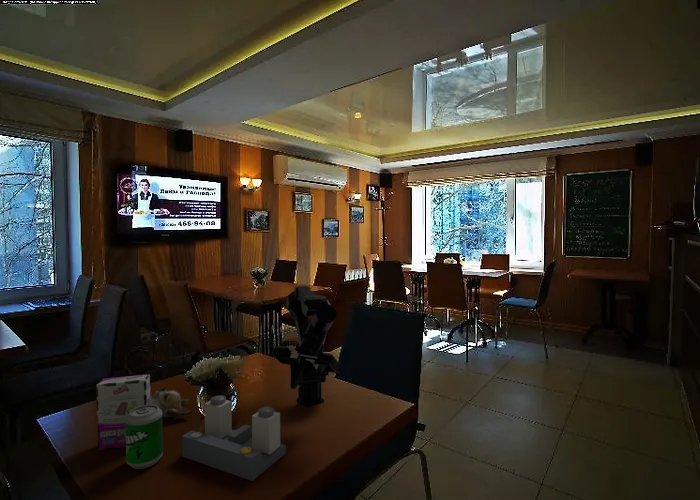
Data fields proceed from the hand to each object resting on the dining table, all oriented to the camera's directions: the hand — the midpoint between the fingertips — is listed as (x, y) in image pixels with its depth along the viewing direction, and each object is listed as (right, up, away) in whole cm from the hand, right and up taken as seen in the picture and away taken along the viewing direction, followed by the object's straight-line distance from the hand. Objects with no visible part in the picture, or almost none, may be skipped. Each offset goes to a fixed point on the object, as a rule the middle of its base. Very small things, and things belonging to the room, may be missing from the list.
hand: (292, 388), depth 102 cm
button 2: (-5, -11, -10) cm, 15 cm away
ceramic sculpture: (-38, -13, +12) cm, 42 cm away
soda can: (-32, -13, -11) cm, 37 cm away
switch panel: (-13, -13, -8) cm, 20 cm away
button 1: (-18, -10, -3) cm, 21 cm away
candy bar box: (-41, -13, -3) cm, 44 cm away
